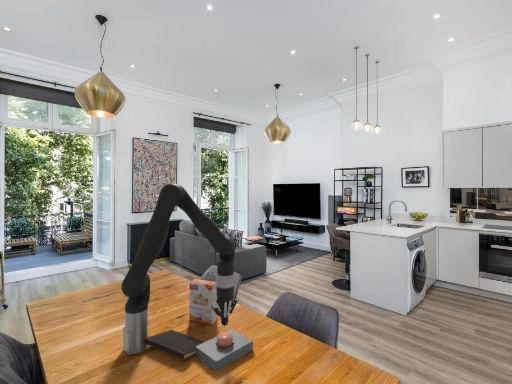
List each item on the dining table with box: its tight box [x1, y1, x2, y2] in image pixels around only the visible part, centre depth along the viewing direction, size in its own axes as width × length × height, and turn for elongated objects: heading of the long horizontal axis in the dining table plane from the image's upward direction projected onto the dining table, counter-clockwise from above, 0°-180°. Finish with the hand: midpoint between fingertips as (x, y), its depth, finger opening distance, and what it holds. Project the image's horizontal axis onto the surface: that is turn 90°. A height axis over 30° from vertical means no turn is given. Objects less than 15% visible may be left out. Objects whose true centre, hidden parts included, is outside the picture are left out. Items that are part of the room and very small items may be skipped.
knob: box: [216, 331, 233, 349], centre depth 117 cm, size 7×7×6 cm
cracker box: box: [188, 278, 218, 326], centre depth 144 cm, size 14×6×21 cm, turn 69°
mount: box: [194, 328, 254, 373], centre depth 117 cm, size 20×14×4 cm
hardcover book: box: [146, 329, 205, 361], centre depth 120 cm, size 16×23×2 cm
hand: (224, 324), depth 116 cm, fingers closed
